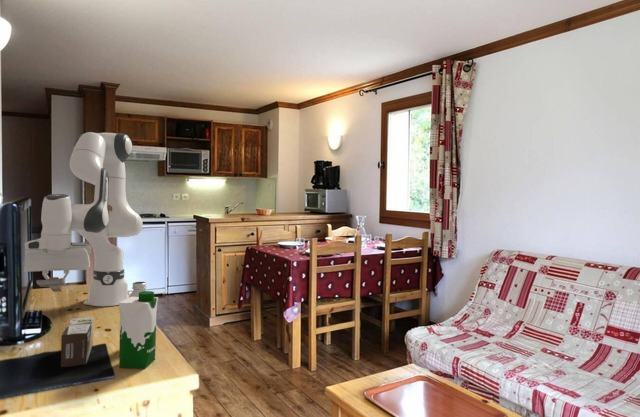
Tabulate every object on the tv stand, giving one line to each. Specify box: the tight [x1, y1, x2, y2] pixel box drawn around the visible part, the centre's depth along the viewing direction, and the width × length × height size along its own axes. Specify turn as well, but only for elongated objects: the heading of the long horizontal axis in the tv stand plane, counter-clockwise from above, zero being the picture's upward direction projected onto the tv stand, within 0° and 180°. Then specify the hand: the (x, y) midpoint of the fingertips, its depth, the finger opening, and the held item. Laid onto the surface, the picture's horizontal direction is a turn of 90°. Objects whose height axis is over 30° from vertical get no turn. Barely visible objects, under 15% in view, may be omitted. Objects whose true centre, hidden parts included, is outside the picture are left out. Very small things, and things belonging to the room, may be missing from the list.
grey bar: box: [35, 276, 66, 293], centre depth 148 cm, size 17×7×3 cm, turn 22°
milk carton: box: [118, 290, 159, 370], centre depth 125 cm, size 9×9×20 cm
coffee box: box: [60, 316, 95, 368], centre depth 130 cm, size 9×6×16 cm
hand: (55, 283), depth 151 cm, fingers closed on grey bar, 2 cm apart
